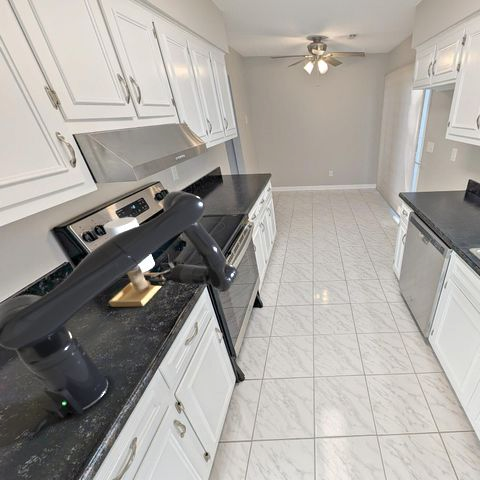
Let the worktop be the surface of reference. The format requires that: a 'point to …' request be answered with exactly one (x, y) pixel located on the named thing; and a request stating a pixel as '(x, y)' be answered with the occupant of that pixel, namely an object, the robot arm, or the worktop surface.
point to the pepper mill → (138, 279)
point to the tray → (134, 295)
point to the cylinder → (123, 225)
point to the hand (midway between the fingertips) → (153, 271)
